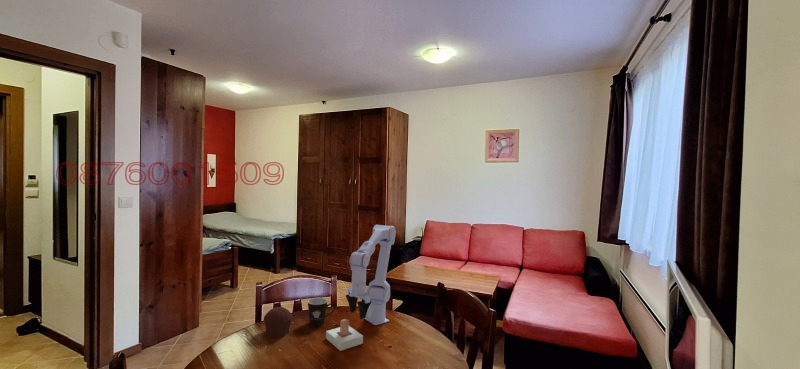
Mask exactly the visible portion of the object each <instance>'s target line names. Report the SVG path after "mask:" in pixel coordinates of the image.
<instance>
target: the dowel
mask: <svg viewBox="0 0 800 369" xmlns="http://www.w3.org/2000/svg"><path fill="white" fill-rule="evenodd" d="M339 324H340V326H339V327H340V336H341V337H345V336H349V326H350V320H349V319H345V318H344V319H341V320H340V323H339Z"/></svg>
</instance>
